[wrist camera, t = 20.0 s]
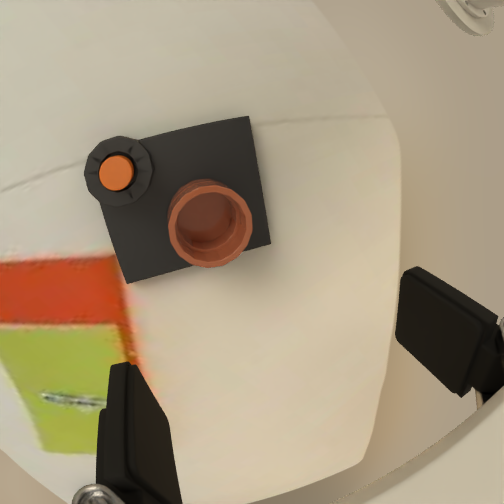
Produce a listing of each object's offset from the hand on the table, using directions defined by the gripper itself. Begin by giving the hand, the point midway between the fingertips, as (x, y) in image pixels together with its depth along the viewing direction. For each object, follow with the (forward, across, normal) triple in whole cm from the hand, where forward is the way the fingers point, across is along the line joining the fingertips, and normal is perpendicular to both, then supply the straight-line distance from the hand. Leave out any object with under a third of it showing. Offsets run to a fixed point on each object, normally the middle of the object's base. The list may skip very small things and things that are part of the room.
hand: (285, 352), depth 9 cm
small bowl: (+19, 0, 0) cm, 19 cm away
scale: (+20, +2, -2) cm, 20 cm away
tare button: (+18, +6, -6) cm, 19 cm away
